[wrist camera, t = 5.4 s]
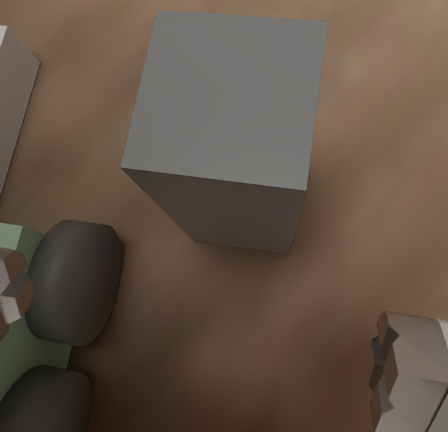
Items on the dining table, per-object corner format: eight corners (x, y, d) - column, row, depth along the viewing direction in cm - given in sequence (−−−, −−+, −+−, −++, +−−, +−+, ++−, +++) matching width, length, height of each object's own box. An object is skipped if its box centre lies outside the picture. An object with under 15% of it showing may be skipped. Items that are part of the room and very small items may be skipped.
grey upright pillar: (194, 240, 20) (120, 167, 10) (210, 153, 21) (157, 10, 11) (288, 255, 19) (306, 190, 9) (300, 164, 20) (327, 21, 10)
